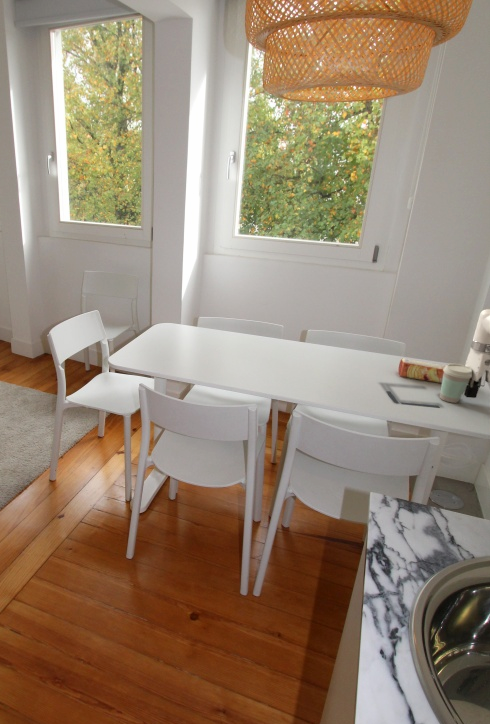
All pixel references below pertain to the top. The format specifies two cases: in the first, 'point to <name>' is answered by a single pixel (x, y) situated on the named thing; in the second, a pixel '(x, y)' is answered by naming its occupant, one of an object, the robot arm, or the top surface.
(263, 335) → the top surface
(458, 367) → the coffee cup
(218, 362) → the top surface
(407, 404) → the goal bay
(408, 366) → the snack package
